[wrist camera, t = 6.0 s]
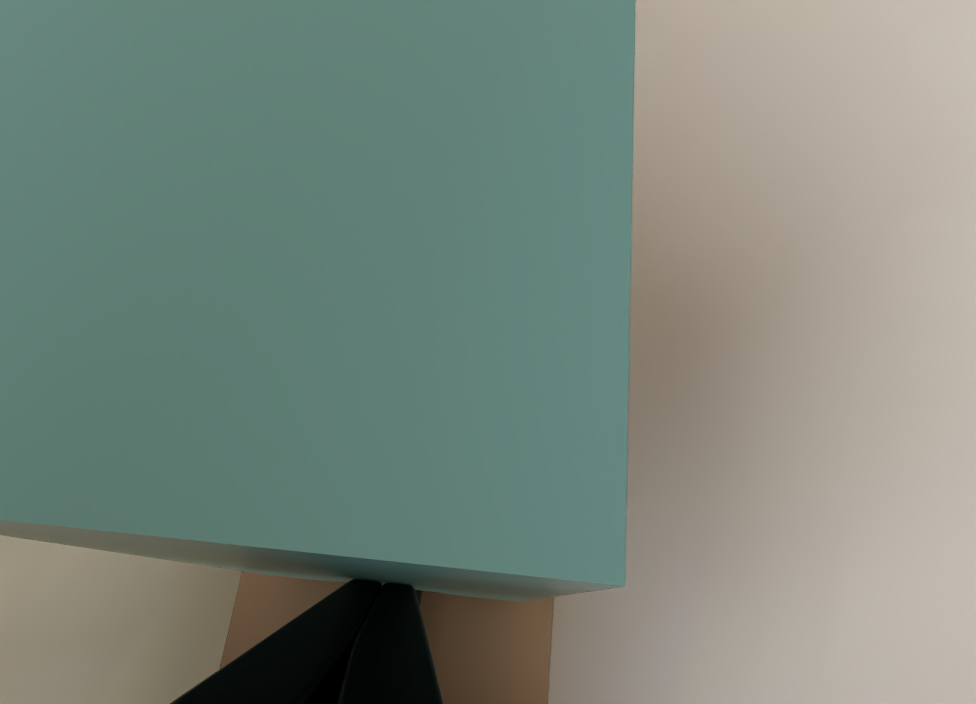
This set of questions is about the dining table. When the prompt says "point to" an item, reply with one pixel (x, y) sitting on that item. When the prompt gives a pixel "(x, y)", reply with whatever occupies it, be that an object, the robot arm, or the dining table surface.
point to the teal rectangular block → (320, 286)
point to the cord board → (450, 631)
